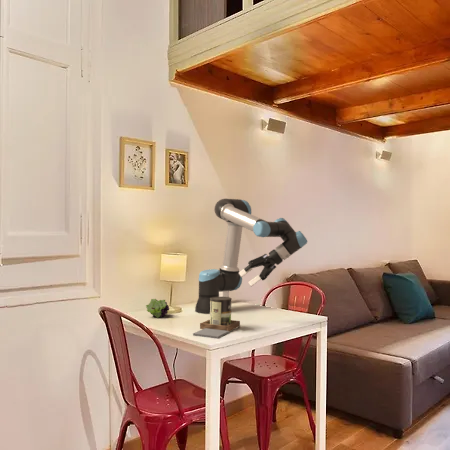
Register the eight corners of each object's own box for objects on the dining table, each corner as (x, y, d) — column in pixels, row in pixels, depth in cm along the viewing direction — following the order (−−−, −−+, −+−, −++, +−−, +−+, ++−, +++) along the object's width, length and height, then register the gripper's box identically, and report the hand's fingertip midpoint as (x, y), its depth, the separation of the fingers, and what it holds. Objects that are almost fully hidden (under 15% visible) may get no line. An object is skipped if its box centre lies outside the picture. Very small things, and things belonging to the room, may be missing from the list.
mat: (193, 335, 199) (193, 333, 199) (205, 329, 210) (205, 328, 210) (217, 338, 194) (217, 336, 194) (228, 332, 205) (228, 331, 205)
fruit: (170, 321, 243) (158, 319, 229) (152, 316, 246) (140, 314, 232) (175, 302, 245) (164, 299, 231) (158, 297, 248) (146, 294, 234)
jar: (219, 304, 280) (220, 285, 280) (212, 302, 286) (213, 283, 286) (231, 303, 285) (232, 284, 285) (224, 301, 291) (225, 282, 291)
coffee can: (231, 325, 221) (231, 296, 221) (230, 330, 210) (231, 300, 210) (210, 324, 221) (210, 296, 221) (208, 329, 211) (209, 299, 211)
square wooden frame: (199, 328, 212) (200, 323, 212) (213, 323, 225) (213, 318, 225) (227, 332, 206) (228, 326, 206) (239, 326, 219) (239, 321, 219)
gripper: (275, 249, 212) (239, 276, 213) (290, 269, 232) (256, 293, 233) (267, 238, 216) (232, 265, 217) (282, 259, 236) (249, 283, 238)
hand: (244, 280), depth 225 cm, fingers open, 13 cm apart
